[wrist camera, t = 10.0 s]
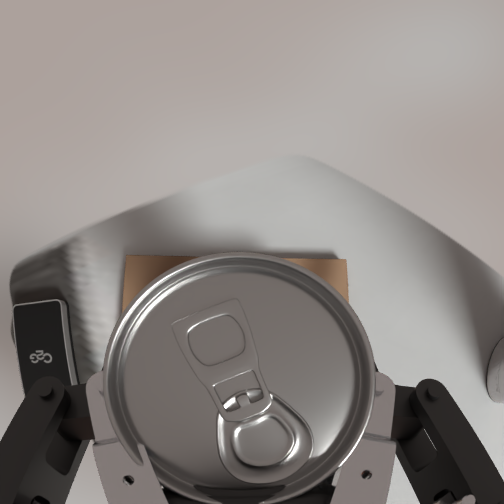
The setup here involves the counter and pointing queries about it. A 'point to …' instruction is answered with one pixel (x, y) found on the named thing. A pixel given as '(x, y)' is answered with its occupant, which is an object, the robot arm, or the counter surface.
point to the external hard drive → (44, 342)
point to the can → (239, 377)
